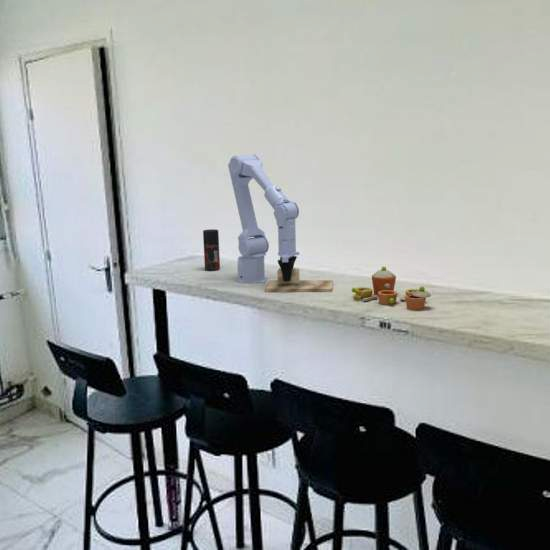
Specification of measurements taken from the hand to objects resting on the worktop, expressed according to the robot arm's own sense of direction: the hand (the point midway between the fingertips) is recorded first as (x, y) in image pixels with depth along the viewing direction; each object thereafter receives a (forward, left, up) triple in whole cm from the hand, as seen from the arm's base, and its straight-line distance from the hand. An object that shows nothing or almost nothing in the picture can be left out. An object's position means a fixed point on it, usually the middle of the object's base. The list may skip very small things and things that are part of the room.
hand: (287, 279), depth 201 cm
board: (+4, 0, -3) cm, 5 cm away
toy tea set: (+34, -17, -3) cm, 38 cm away
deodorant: (-33, +31, -3) cm, 45 cm away
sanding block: (0, 0, -2) cm, 2 cm away
